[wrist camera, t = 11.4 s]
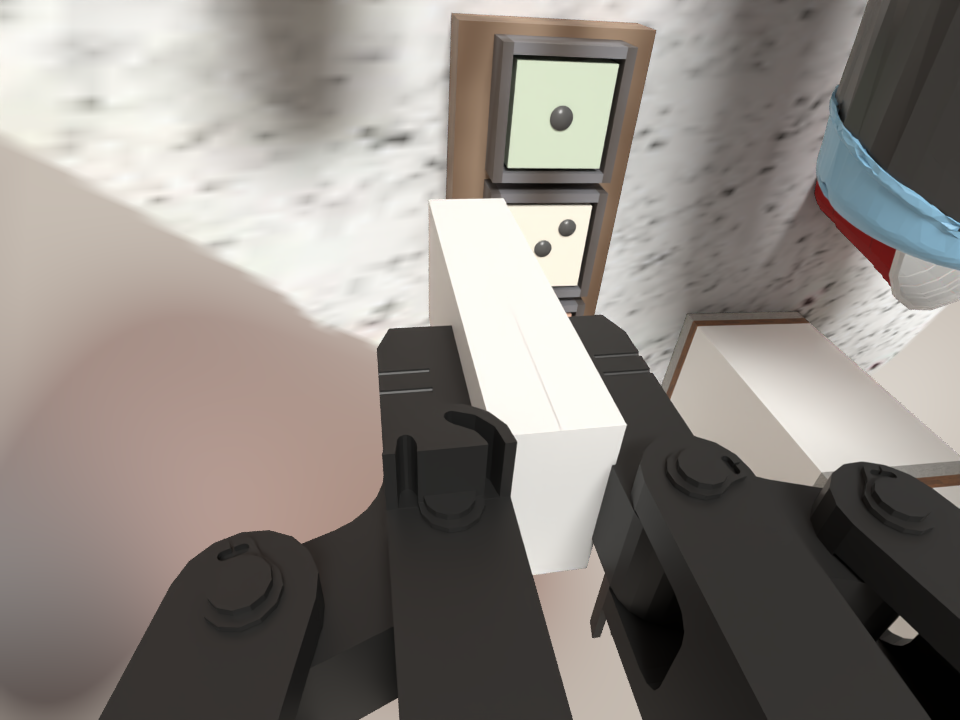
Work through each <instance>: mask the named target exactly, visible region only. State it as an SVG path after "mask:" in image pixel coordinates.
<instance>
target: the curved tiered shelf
mask: <svg viewBox="0 0 960 720" xmlns="http://www.w3.org/2000/svg"><path fill="white" fill-rule="evenodd" d="M661 387H662V388H663V390H664V391H665V393H666V394H667V396H668V397H669V399H670V400H671V402H672V403H673V405H674V406H675V408H676V409H677V411H678V412H679V414H680V415H681V417H682V418H683V420H684V421H685V423H686V424H687V426H688V427H689V429H690V430H691V432H692V433H693V435H694V436H696V437H700V438H703V439H706V440H709V441H712V442H716V443H718V444H719V445H721V446H723V447H724V448H726V449H728V450H729V451H731V452H733V453H734V454H736V455H737V456H738V457H739V458H740V459H741V460H742V461H743V462H744V463H745V464H746V465H747V466H748V467H749V468H750V469H751V470H752V472H753V473H754V474H755V476H756V477H761V478H765V479H769V480H776V481H782V482H788V483H794V484H801V485H807V486H813V487H819V488H823V487H824V485H825V484H826V482H827V481H828V479H829V477H830V476H831V474H832V473H833V472H834V471H835V470H837V469H838V468H839V467H841V466H842V465H843V464H847V463H854V462H861V461H863V462H869V463H876V464H882V465H887V466H889V467H892V468H894V469H897V470H900V471H902V472H905V473H907V474H910V475H912V476H913V477H915V478H916V479H918V480H920V481H921V482H923V483H925V484H926V485H928V486H929V487H931V488H933V489H934V490H936V491H937V492H938V493H939V494H941V495H942V496H943V497H945V498H946V499H947V500H949V501H950V502H951V503H953V504H954V505H955V506H957V507H958V508H959V509H960V455H959V454H957V453H956V452H955V451H954V450H953V449H952V448H951V447H950V446H949V445H947V444H946V443H945V442H944V441H943V440H942V439H940V438H939V437H938V436H937V435H936V434H935V433H934V432H933V431H931V430H930V429H929V428H928V427H927V426H926V425H925V424H924V423H922V422H921V421H920V420H919V419H918V418H917V417H916V416H915V415H913V414H912V413H911V412H910V411H909V410H908V409H907V408H906V407H904V406H903V405H902V404H901V403H900V402H899V401H898V400H897V399H895V398H894V397H893V396H892V395H891V394H890V393H889V392H887V391H886V390H885V389H884V388H883V387H882V386H881V385H880V384H878V383H877V382H876V381H875V380H874V379H873V378H872V377H871V376H869V375H868V374H867V373H866V372H865V371H864V370H863V369H861V368H860V367H859V366H858V365H857V364H856V363H855V362H854V361H852V360H851V359H850V358H849V357H848V356H847V355H846V354H845V353H843V352H842V351H841V350H840V349H839V348H838V347H837V346H835V345H834V344H833V343H832V342H831V341H830V340H829V339H828V338H826V337H825V336H824V335H823V334H822V333H821V332H820V331H819V330H817V329H816V328H815V327H814V326H813V325H812V324H811V323H809V322H808V321H807V320H806V319H805V318H804V317H803V316H802V315H800V314H799V313H798V312H797V311H792V312H745V313H698V314H687V316H686V318H685V321H684V324H683V327H682V330H681V332H680V335H679V338H678V341H677V344H676V346H675V349H674V352H673V355H672V358H671V360H670V363H669V366H668V369H667V372H666V374H665V377H664V380H663V383H662V386H661ZM888 630H890V631H891V632H892V633H894V634H896V635H898V636H900V637H902V638H908V639H914V638H915V637H916V636H917V635H918V634H919V633H918V632H916V631H915V630H914V629H913V628H912V627H911V626H910V625H909V624H908V623H907V622H906V621H905V620H904V619H903V618H902V617H901V616H899V618H898V619H897V620H896V621H895V622H894V623H893V624H892V625H891V626H890V627H889V628H888Z"/></svg>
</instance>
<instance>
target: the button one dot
mask: <svg viewBox="0 0 960 720" xmlns="http://www.w3.org/2000/svg"><path fill="white" fill-rule="evenodd" d="M618 68H619V64H618V63H616V62H614V61H612V60H610V59H609V58H588V57H564V56H540V55H517V54H513V65H512V76H511V87H510V98H509V109H508V121H507V132H506V143H505V154H504V163H505V165H506V166H507V168H593V169H599V168H600V162H601V157H602V152H603V147H604V141H605V136H606V131H607V126H608V120H609V115H610V110H611V104H612V99H613V94H614V89H615V83H616V78H617V73H618Z"/></svg>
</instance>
